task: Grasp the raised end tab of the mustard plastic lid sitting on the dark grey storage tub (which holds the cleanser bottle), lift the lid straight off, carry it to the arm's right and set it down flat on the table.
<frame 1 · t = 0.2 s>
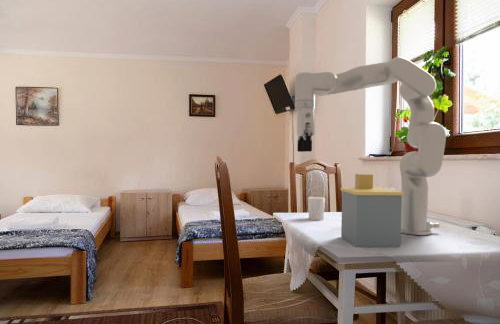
hand: (304, 151, 143), 31 cm above the table, tool pointing down, fingers open, 9 cm apart
lid: (370, 192, 131), point 17 cm above the table, touching tub
tub: (369, 241, 131), on the table
white cup: (316, 219, 175), on the table
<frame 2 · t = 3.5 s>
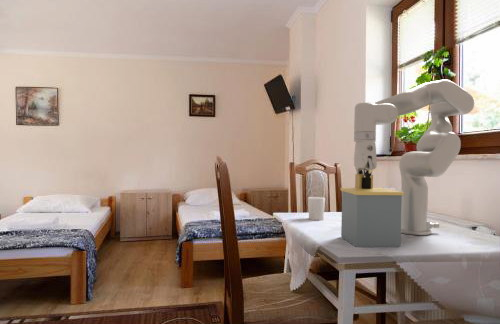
hand: (363, 187, 137), 18 cm above the table, tool pointing down, fingers closed on lid, 4 cm apart
lid: (370, 192, 131), point 17 cm above the table, touching gripper, tub
everything else where it was.
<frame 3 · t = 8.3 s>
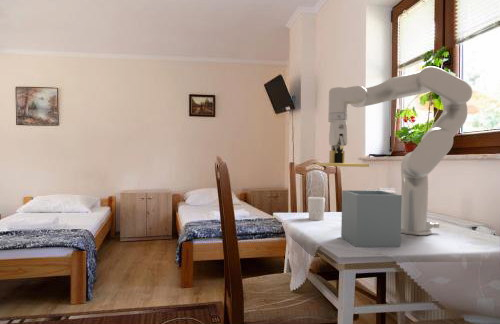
hand: (336, 162, 155), 27 cm above the table, tool pointing down, fingers closed on lid, 4 cm apart
lid: (341, 165, 149), point 26 cm above the table, touching gripper
everything else where it was.
when the fingers open (3 cm above the table, at t = 13.2 s): lid drops 2 cm, on the table.
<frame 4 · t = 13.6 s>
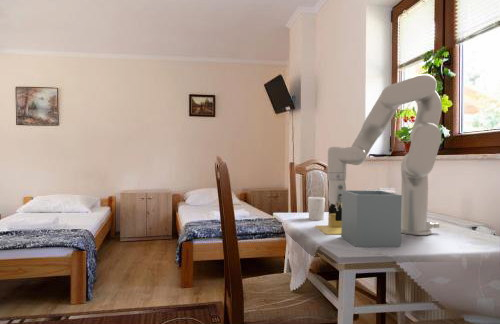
hand: (335, 218, 155), 4 cm above the table, tool pointing down, fingers open, 8 cm apart
lid: (340, 231, 150), on the table
everything else where it was.
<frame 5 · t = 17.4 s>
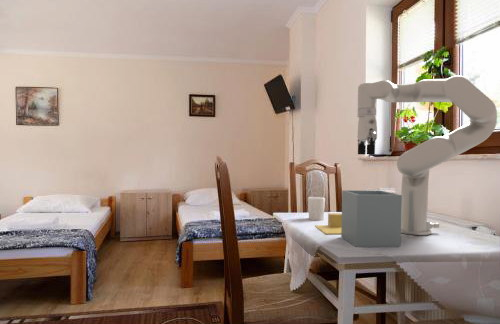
hand: (366, 154, 158), 30 cm above the table, tool pointing down, fingers open, 9 cm apart
nothing on the table moved.
at the end: lid on the table; lid inside the target area (0.5 cm from its centre), on the table; the gripper is holding nothing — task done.
